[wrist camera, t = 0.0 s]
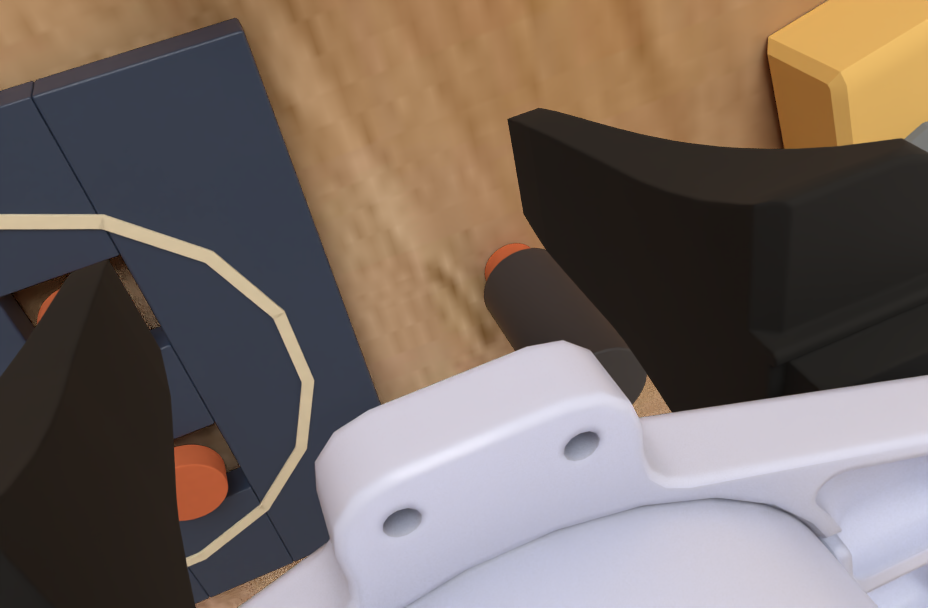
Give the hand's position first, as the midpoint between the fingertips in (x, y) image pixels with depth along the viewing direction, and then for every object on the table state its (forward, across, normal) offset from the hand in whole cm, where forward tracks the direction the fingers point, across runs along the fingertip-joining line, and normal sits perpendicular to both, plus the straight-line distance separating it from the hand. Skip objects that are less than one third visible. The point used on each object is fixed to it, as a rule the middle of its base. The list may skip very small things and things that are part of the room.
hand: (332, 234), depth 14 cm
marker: (+10, -6, +10) cm, 15 cm away
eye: (+9, +7, +13) cm, 17 cm away
